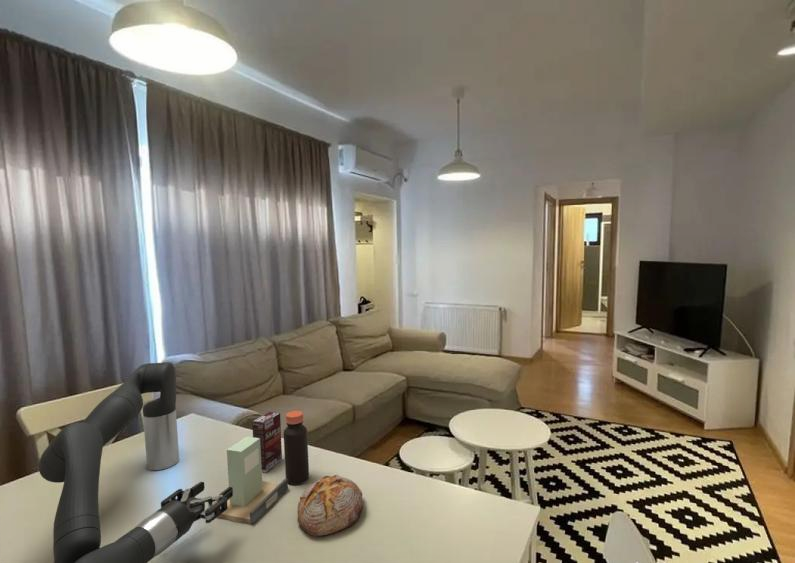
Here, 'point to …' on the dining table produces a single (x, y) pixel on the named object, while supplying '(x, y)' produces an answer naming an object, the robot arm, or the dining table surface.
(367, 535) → the dining table surface
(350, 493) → the bread
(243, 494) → the carton
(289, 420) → the bottle
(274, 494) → the tan flat piece
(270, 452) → the supplement box
